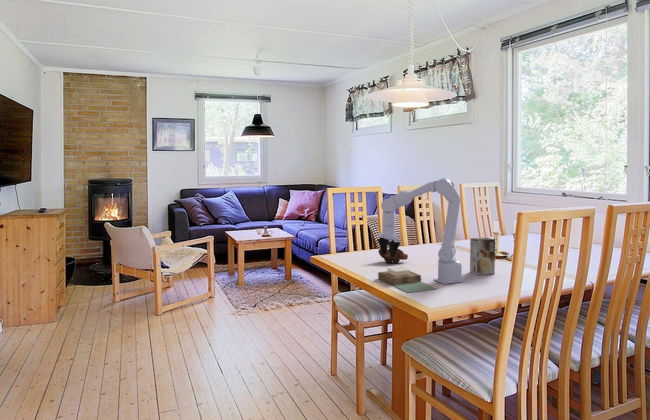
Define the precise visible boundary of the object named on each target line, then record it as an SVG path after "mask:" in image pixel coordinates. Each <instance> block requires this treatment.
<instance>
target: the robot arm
mask: <svg viewBox="0 0 650 420" xmlns="http://www.w3.org/2000/svg"><path fill="white" fill-rule="evenodd" d="M429 192H430V193H435V192H436V193H438V194H439V195H441V196H442V197H444V199H445V200H446V201H447V202H448V204H447V211H446V218H445V224H444V225H445V226H444V232H443V238H442V242H441V246H440V247H441V248H440V249H439V250H438V253H437V256H438V261H437V262H438V263H437V278H433V280H434V281H435V282H439V283H441V284H443V285H446V284H447V285H449V284H454V283H456V284H457V283H462V282H463V280H462V275H463V274H462V273H463V271H462V263H461V262H460V260H457V259H456V258H455V256H456V251H457V250H456V247H455V245H456V244H455V243H456V241H455V240H456V232H457V224H458V219H459V213H460V205H461V200H462V198H461V195H460V193H459V191H458V190H457V187H456V185H455V183H454V182H453V181H452V180H451V179H449V178H447V177H446V178H445V177H443V178H440V179H438V180H434V181H429V182H428V183H424V184H423V185H420V186H419V187H416V188H415V189H413V190H410V191H407V190H404V191H403V190H401V191H399V193H397V194H395V195H391V196H389V198H385V199H384V200H383V201H382V202H381V204H380V206H381V208H380V209H381V210H382V215H381V216H382V220H381V221H382V223H381V224H382V225H381V232H380V233H378V238H377V239H376V241H377V242H378V244H379V249H381V253H382V254H387V249H389V250H390V257H391V258H393V257H395V256H396V252H397V249H399V247H400V245H401V241H400V237H398V236H397V235H396V209H400V208H401V207H404V206H406V205H408V204H411V203H412V201H413V199H414V198H417V197H419V196H421V195H424V194H426V193H429Z"/></svg>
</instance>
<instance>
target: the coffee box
mask: <svg viewBox="0 0 650 420" xmlns="http://www.w3.org/2000/svg"><path fill="white" fill-rule="evenodd" d="M469 240H470V242H469V243H470V245H469V246H470V247H469V248H470V249H469V250H470V251H469V253H470V255H469V258H470V259H469V272H470V273H471V274H473V275H475V276H486V275H495V270H496V269H495V265H496V264H495V262H496V261H495V259H496V256H495V255H496V254H495V253H496V239H494V238H489V237H475V238H473V237H472V238H470V239H469Z"/></svg>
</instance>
